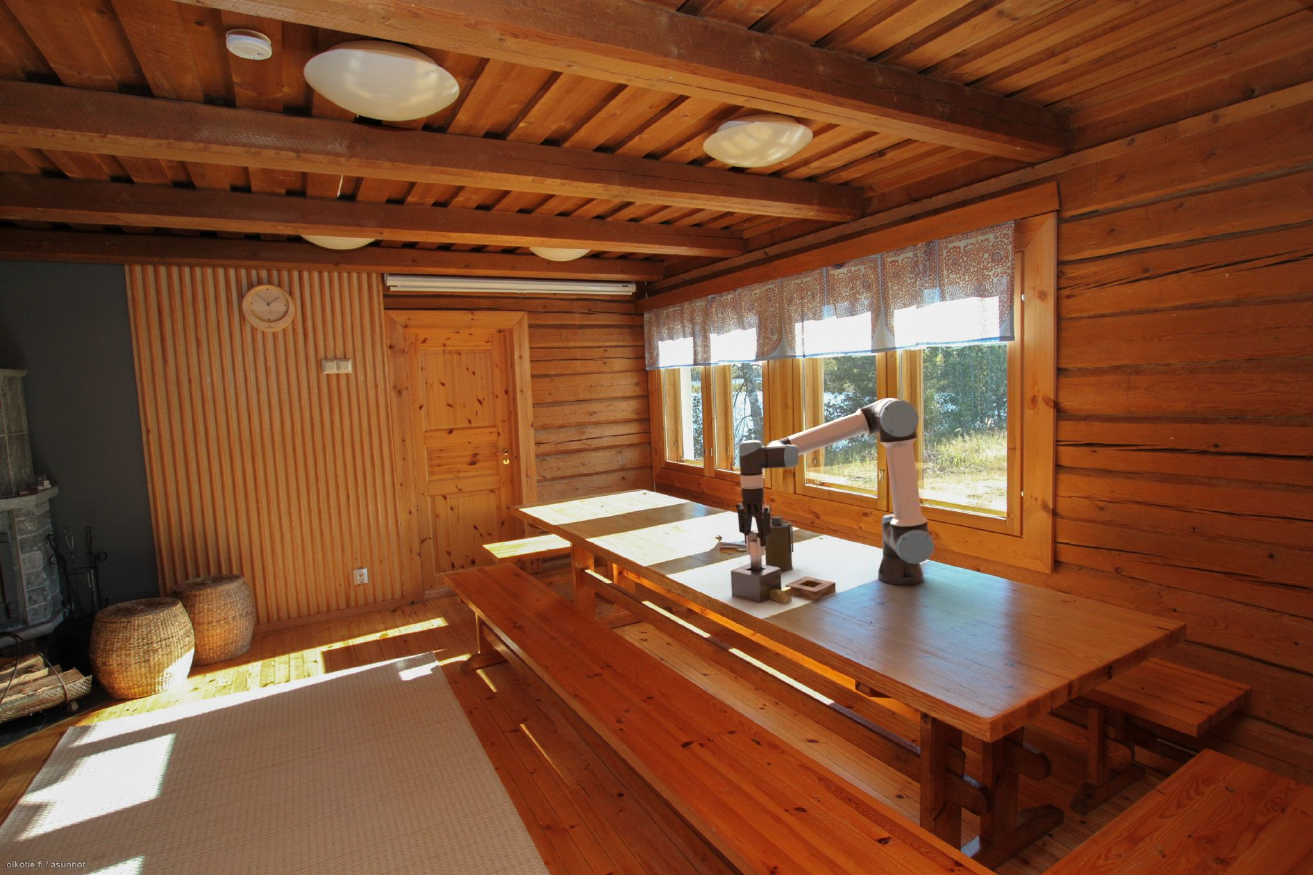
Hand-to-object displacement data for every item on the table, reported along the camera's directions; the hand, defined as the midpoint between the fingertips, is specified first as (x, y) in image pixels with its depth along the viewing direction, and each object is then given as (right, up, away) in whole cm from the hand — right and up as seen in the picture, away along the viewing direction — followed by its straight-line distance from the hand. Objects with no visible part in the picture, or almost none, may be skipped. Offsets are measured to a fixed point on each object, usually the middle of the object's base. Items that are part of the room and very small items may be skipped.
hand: (755, 554), depth 231 cm
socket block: (+1, -14, +1) cm, 14 cm away
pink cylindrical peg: (0, -6, +1) cm, 6 cm away
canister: (+14, -11, +31) cm, 35 cm away
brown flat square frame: (+19, -13, +1) cm, 23 cm away
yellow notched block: (+5, -14, -3) cm, 16 cm away
